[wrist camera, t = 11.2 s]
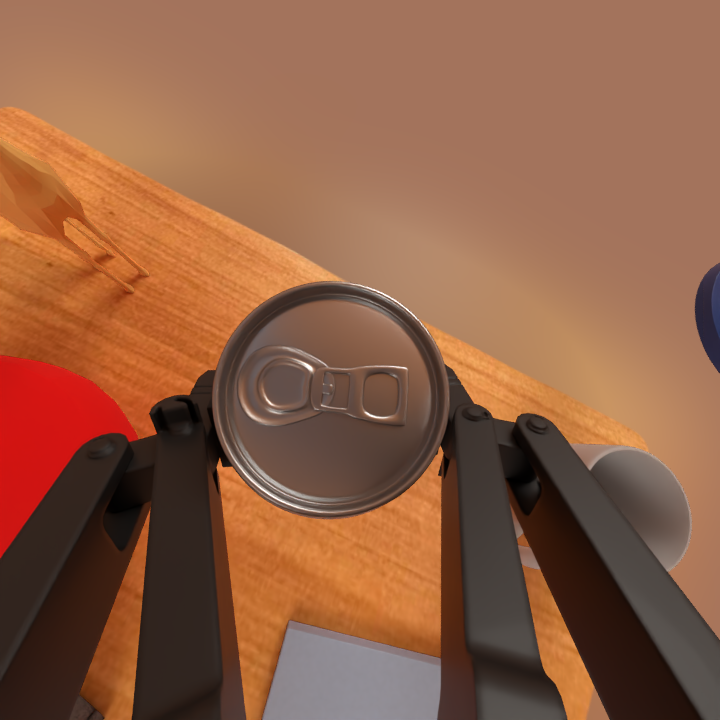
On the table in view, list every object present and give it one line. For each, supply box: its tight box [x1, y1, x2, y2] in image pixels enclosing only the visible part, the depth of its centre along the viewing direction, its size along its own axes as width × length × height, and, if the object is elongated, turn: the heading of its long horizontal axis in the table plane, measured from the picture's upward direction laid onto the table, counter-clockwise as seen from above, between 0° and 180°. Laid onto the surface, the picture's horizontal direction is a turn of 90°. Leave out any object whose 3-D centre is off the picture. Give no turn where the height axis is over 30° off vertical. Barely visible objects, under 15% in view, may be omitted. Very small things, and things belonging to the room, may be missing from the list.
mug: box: [510, 444, 692, 572], centre depth 27 cm, size 12×8×11 cm
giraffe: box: [0, 137, 150, 293], centre depth 21 cm, size 16×4×25 cm, turn 59°
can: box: [212, 281, 450, 519], centre depth 13 cm, size 6×6×12 cm
